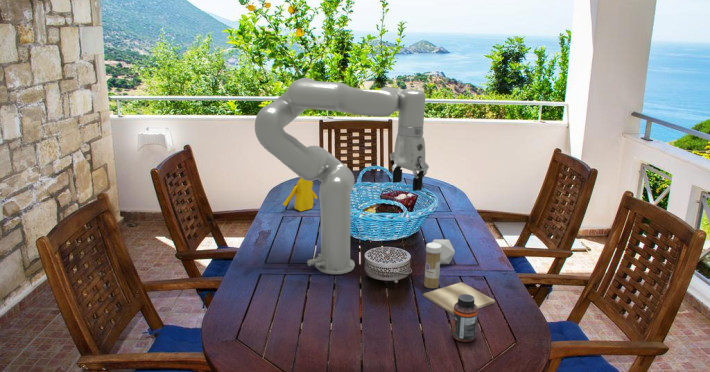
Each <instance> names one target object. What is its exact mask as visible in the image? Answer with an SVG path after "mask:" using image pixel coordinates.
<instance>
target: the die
mask: <svg viewBox="0 0 710 372" xmlns="http://www.w3.org/2000/svg"><path fill="white" fill-rule="evenodd" d="M432 242H434V243H439V244H440V245H441V253H440V265H450V264H451V261H452V259H453V257H454V255H455V253H456V251H455V249H454V247H453V245H452V243H451V241H450V239H445V238H444V239H433V240H432Z"/></svg>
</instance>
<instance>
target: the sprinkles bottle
mask: <svg viewBox="0 0 710 372" xmlns="http://www.w3.org/2000/svg"><path fill="white" fill-rule="evenodd" d="M425 252H426V253H425V255H426V256H425V268H424V283H423V286H424V287H426V288H427V289H438V288H439V283H440V271H441V270H440V269H441V264H440V253H441V245H440V244H439V243H434V242H433V241H432V242H428V243H426V245H425Z"/></svg>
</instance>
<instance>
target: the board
mask: <svg viewBox="0 0 710 372" xmlns="http://www.w3.org/2000/svg"><path fill="white" fill-rule="evenodd" d="M461 294H469V295H472V296H473V297H474V304H475V305H476V306H477V310H479V309H481V308H484V307H487V306H489V305H493V304H495V303H496V300H495V299H494V298H492V297H489V295H486V294H484V293H482V292H481V291H478V290H476V289H475V288H473V287H472V286H470V285H468V284H466V283H464V282H461V281H460V282H457V283H454V284H451V285H447V286H444V287H441V288H436V289H434V290H431V291H428V292H427V291H426V292H425V293H423V294H422V296H423V297H424V298H426V299H428V301H430V302H431V303H434V304H435V305H437V306H438V307H440V308H441V309H443V310H445V311H446V312H447V313H449V314H450V315H453V310H454V305H455V303H457V302H458V297H459V295H461Z"/></svg>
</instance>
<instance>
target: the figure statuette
mask: <svg viewBox="0 0 710 372" xmlns="http://www.w3.org/2000/svg"><path fill="white" fill-rule="evenodd" d="M313 186H314V180H313V181H306V180H304V179H302V178H300V177H299V179H298V180H297V183H296V184H295V185H294V186H293V188H292V190H291V192H290V194H289V195H288V196H287V197H286V199H284V200H285V201H283V203H282V205H283V206H284V207H287V206H288V204H289V203H290V202H291V200H292V199H293V197H294V196H295V198H294V209H295V210H297V211H299V212H304V211H308V210H312V208H313V206H314V199H315V200H317V199H318V196H317V194H316V193H315V192H314V190H313Z"/></svg>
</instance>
